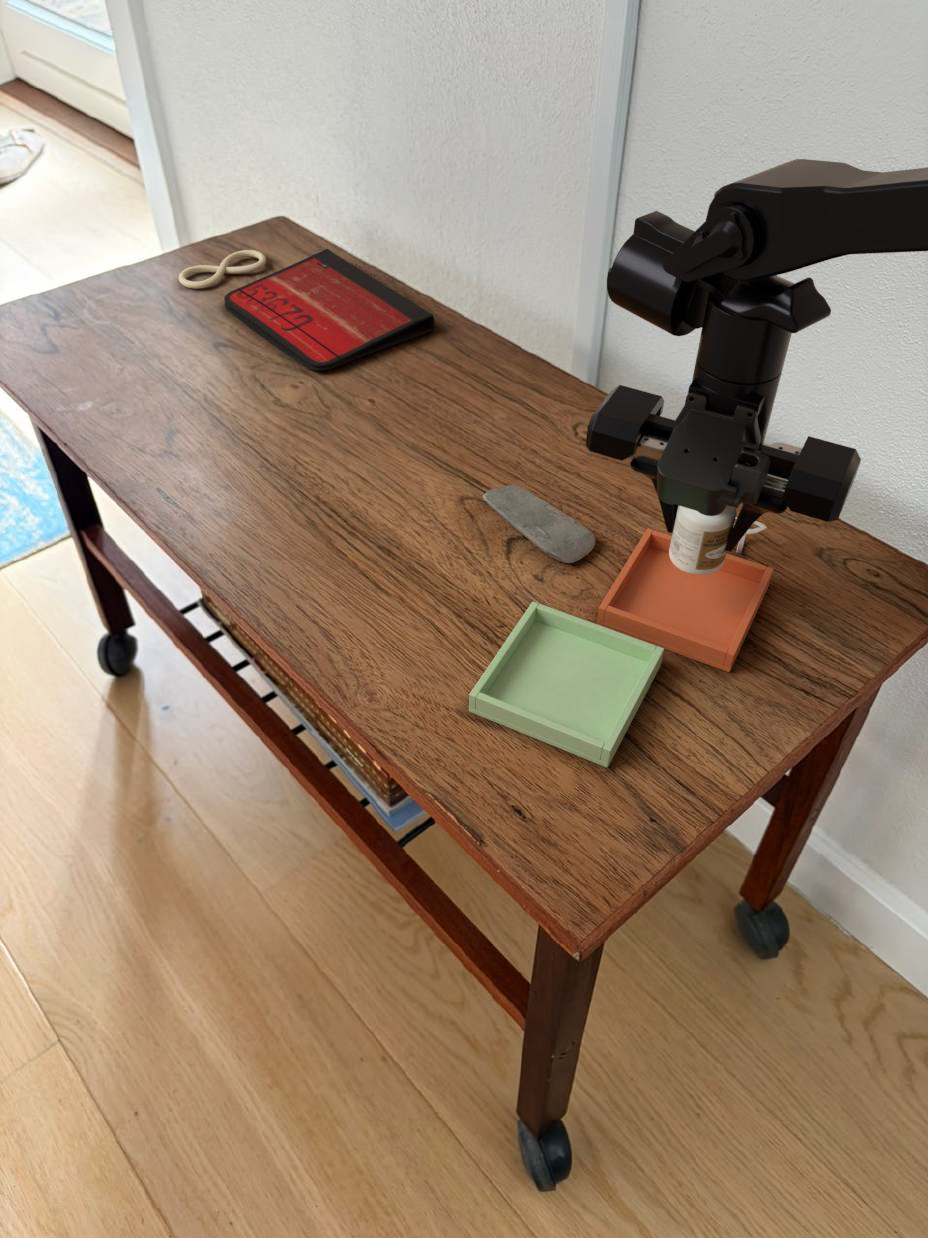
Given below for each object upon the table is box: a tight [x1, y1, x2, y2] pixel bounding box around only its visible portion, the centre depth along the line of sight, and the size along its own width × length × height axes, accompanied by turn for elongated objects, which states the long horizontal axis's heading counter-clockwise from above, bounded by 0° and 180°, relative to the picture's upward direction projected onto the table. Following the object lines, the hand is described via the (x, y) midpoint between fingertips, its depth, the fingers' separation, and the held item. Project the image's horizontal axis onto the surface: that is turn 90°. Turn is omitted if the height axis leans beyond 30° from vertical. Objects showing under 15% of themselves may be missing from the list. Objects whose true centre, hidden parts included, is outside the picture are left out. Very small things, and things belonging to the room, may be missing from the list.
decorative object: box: [178, 249, 267, 290], centre depth 125 cm, size 11×1×5 cm
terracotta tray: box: [596, 527, 775, 673], centre depth 84 cm, size 11×11×2 cm
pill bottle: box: [669, 505, 738, 575], centre depth 78 cm, size 4×4×8 cm
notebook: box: [223, 248, 435, 372], centre depth 117 cm, size 16×2×21 cm
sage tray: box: [468, 600, 665, 769], centre depth 78 cm, size 11×11×2 cm
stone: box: [482, 484, 596, 564], centre depth 91 cm, size 12×2×5 cm
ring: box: [733, 516, 768, 554], centre depth 89 cm, size 3×3×3 cm
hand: (700, 539), depth 80 cm, fingers closed on pill bottle, 4 cm apart
